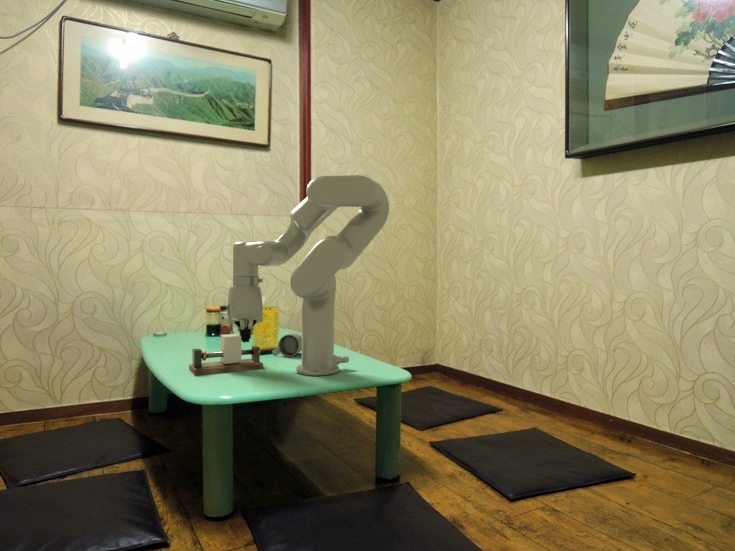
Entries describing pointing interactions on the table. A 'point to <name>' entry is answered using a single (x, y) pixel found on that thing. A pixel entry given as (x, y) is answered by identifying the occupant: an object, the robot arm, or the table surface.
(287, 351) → the ceramic mug
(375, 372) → the table surface
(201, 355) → the rod
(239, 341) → the sleeve
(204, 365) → the board
